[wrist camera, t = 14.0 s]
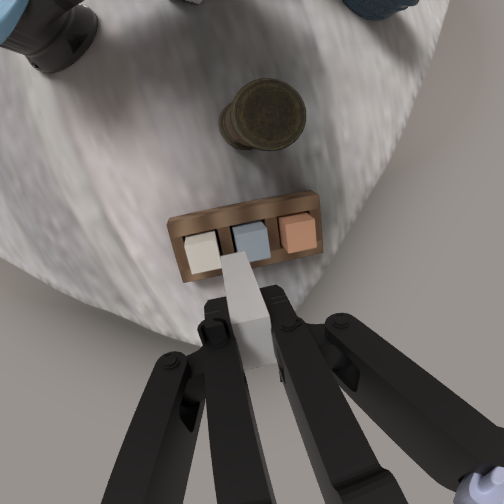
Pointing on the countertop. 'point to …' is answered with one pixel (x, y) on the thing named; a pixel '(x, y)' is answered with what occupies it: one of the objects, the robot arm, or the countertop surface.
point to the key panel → (241, 214)
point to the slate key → (252, 240)
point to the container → (263, 116)
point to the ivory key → (202, 251)
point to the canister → (378, 7)
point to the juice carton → (195, 1)
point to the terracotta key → (297, 231)
